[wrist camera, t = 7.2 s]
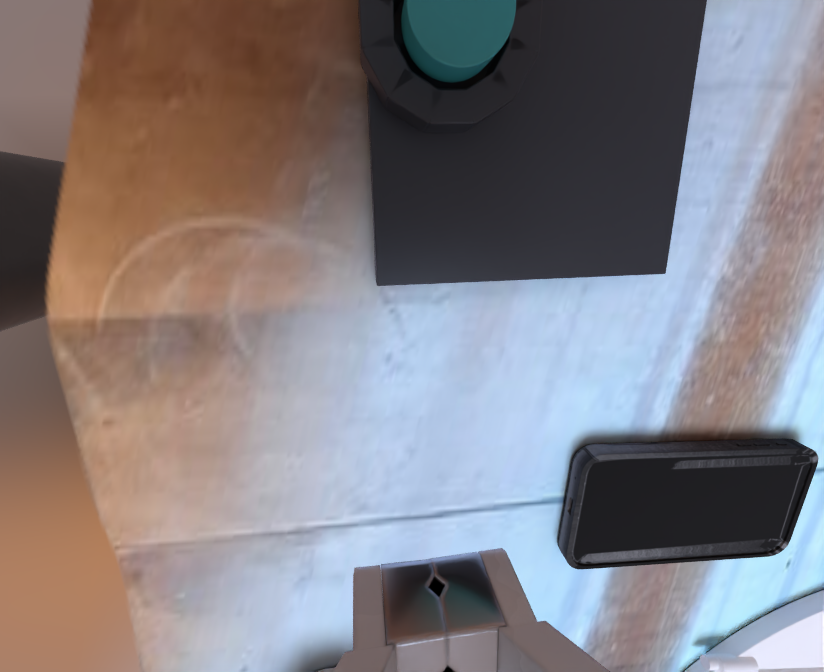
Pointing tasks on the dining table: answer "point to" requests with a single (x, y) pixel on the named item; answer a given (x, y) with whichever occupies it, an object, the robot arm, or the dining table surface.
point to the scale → (532, 144)
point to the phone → (683, 501)
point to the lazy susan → (773, 642)
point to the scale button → (455, 35)
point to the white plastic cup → (327, 670)
